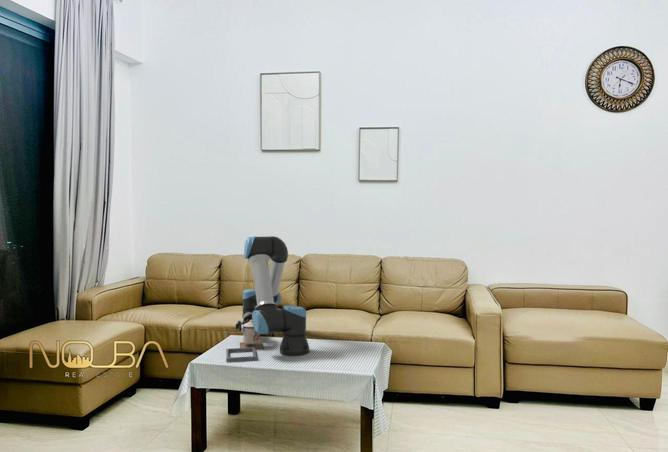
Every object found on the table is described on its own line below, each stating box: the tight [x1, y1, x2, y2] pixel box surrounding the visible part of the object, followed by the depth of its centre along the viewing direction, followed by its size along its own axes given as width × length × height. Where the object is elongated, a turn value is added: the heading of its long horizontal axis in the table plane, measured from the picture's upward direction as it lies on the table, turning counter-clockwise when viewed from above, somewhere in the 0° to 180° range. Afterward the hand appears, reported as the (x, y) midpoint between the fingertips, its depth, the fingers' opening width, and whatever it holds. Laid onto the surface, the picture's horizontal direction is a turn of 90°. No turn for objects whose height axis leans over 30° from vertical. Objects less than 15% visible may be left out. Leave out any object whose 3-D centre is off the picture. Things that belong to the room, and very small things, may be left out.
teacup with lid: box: [242, 320, 261, 344], centre depth 265 cm, size 12×9×12 cm
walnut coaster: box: [239, 341, 264, 350], centre depth 265 cm, size 12×12×1 cm
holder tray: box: [225, 347, 257, 363], centre depth 247 cm, size 14×17×2 cm
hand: (251, 329), depth 261 cm, fingers closed on teacup with lid, 9 cm apart
